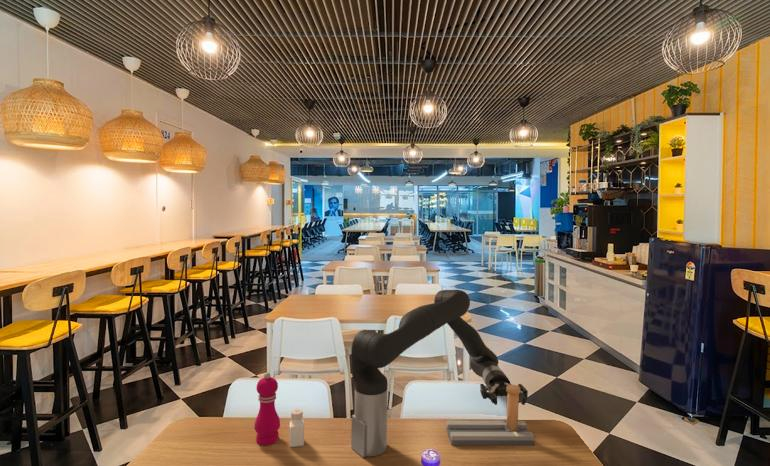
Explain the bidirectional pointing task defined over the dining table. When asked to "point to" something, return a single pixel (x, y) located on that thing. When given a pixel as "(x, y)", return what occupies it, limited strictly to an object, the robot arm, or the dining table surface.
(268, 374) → the pepper mill
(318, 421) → the dining table surface
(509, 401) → the wooden peg
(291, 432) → the pepper shaker
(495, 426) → the grey stand base
